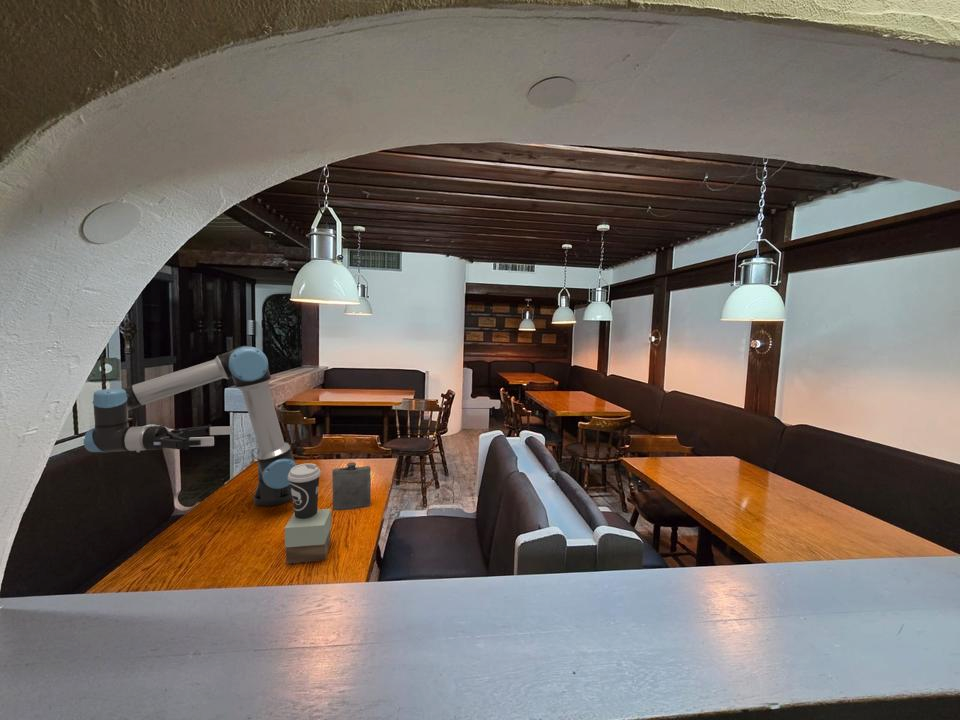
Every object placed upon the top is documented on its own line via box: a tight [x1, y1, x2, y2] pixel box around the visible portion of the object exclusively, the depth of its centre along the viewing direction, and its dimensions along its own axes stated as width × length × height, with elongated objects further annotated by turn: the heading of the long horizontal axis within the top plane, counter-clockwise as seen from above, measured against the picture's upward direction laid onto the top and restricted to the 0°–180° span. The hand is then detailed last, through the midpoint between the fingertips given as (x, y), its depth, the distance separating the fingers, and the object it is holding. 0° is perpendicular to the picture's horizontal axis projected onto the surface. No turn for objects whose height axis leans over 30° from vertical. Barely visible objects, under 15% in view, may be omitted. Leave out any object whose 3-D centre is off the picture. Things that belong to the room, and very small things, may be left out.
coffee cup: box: [288, 462, 322, 519], centre depth 122 cm, size 10×10×15 cm
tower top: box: [284, 508, 332, 548], centre depth 121 cm, size 11×11×6 cm
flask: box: [331, 462, 372, 511], centre depth 154 cm, size 4×14×18 cm, turn 106°
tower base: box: [285, 530, 332, 565], centre depth 123 cm, size 11×11×6 cm
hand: (223, 435), depth 128 cm, fingers open, 13 cm apart
